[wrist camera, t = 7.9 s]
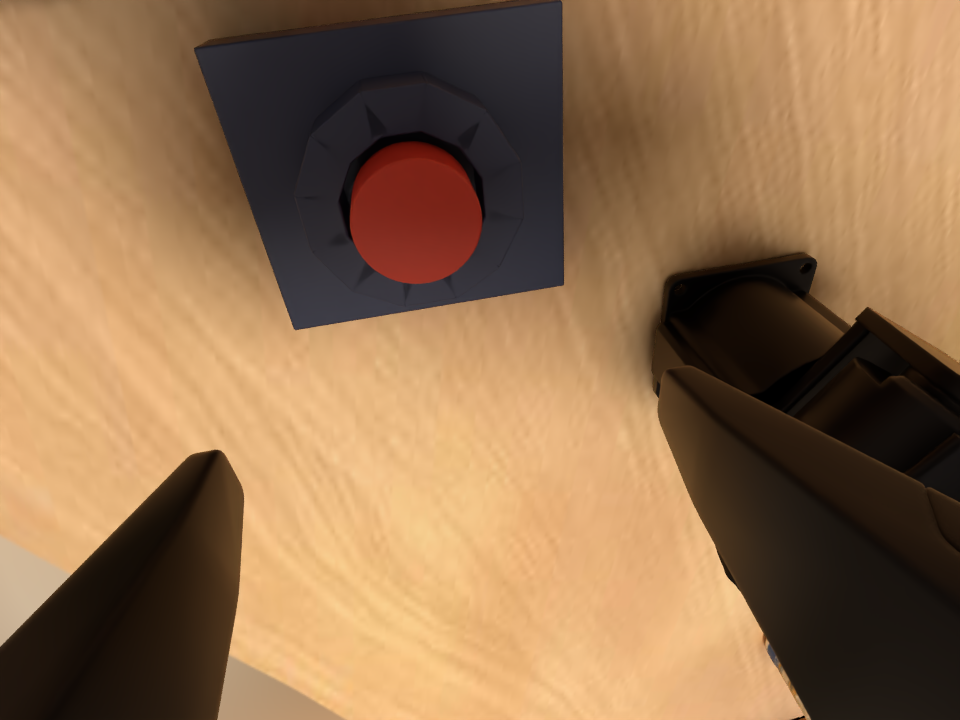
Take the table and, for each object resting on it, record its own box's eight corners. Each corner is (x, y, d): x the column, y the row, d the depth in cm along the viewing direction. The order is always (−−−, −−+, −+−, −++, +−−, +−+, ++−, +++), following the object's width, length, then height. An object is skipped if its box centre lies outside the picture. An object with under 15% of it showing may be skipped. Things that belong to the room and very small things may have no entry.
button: (466, 131, 16) (475, 148, 14) (478, 249, 18) (488, 274, 16) (337, 149, 15) (334, 169, 14) (366, 267, 17) (365, 294, 16)
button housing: (547, -4, 17) (583, 4, 14) (552, 265, 22) (578, 310, 19) (207, 39, 16) (173, 57, 13) (299, 307, 21) (288, 360, 19)
